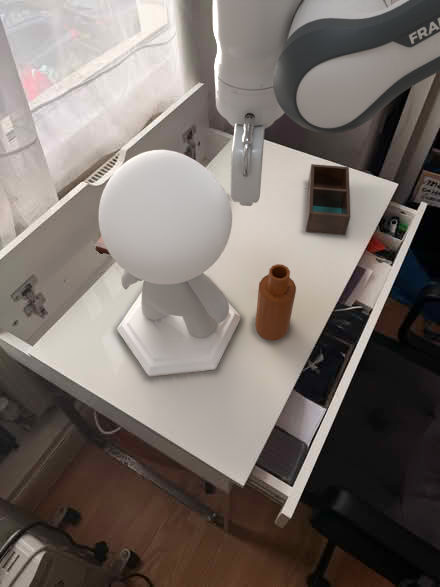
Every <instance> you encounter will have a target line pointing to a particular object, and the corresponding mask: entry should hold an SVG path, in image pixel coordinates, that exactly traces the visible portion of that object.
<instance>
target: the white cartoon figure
mask: <svg viewBox="0 0 440 587" xmlns="http://www.w3.org/2000/svg"><path fill="white" fill-rule="evenodd" d="M98 206H99V207H98V227H99V231H100V237H101V236H102V239H103V242H104V244H105V246H106V248H107V250H108V252H109V253H110V256H111V258H112V259H113V260H114V261H115V263H116V264H117V265H118V266H119V267H120V268H122V272H121V275H120V276H121V277H120V282H121V287H122V288H123V290H128V288H129V287H130V286H131V285H134V284H136V283H138V282H142V281H143V283H142V289H141V292H140V294H139V296H138V297H137V298H136V300H135V301H134V303H133V304H132V305H131V307H130V308H129V310H128V312H127V313H126V314H125V316H124V317H123V319H122V320H121V322H120V324H119V325H118V326H117V328H116V330H117V332H118V333H119V335H120V337H122V339H123V341H124V342H125V344H126V345H127V347H128V349H130V351H131V353H132V354H133V355H134V357H135V358H136V360H137V361H138V363H139V364H140V366H141V368H142V369H143V370H144V372H145V373H146V374H147V377H157V376H158V377H159V376H168V375H179V374H189V373H198V372H206V371H207V372H209V371H216V369H217V367H218V366H219V363H220V361H221V360H222V357H223V355H224V354H225V352H226V350H227V348H228V345H229V343H230V341H231V340H232V337H233V335H234V333H235V331H236V329H237V327H238V325H239V323H240V321H241V319H242V316H241V315H240V314H239V313H238V312H237V310H236V309H235V307H233V306H232V305H231V304H230V302H229V301H228V298H227V297H226V295H225V294H224V292H223V290H221V289H220V287H219V286H218V285H217V284H216V283H215V282H214V281H213V280H212V279H211V278H210V277H209V276H208V275H207V274H205V272H206V271H208V270H209V269H210V268H211V267H213V265H214V264H215V263H216V262H217V261H218V259H220V257H221V255H222V254H223V252H224V251H225V249H226V247H227V245H228V242H229V239H230V236H231V232H232V226H233V211H232V210H233V209H232V205H231V202H230V199H229V195H228V194H227V192H226V190H225V188H224V187H223V185H222V183H221V182H220V181H219V180H218V179H217V177H216V176H215V175H214V174H213V172H211V171H210V170H209V169H208V168H206V167H205V166H204V165H203V164H201V163H200V162H199V161H197V160H195V159H193V158H192V157H190V156H188V155H185V154H183V153H181V152H178V151H175V150H174V151H173V150H168V149H154V150H148V151H144V152H141V153H139V154H136V155H135V156H133V157H131V158H129V159H128V160H127V161H125V162H124V163H122V164H121V165H120V166H119V167H118V168H117V169H116V170H115V171H114V172H113V174H112V175H111V176H110V178H109V180H108V181H107V183H106V185H105V186H104V188H103V191H102V193H101V197H100V201H99V205H98Z"/></svg>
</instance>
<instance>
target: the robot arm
mask: <svg viewBox="0 0 440 587" xmlns="http://www.w3.org/2000/svg"><path fill="white" fill-rule="evenodd" d="M212 30H213V36H214V38H215V41H216V46H217V47H216V49H217V50H216V56H215V59H214V84H215V85H214V88H215V92H214V93H215V108H216V110H217V112H218V114H220V116H221V117H222V118H224V119H225V120H226V121H227V122H228V123H229V124H230V125H231V126H232V127H233V128H234V129H233V138H232V146H231V155H230V156H231V157H230V198H231V200H232V201H233V202H235V203H239V204H240V206H243V207H252V206H253V204H256V203H258V202H259V201H260V197H261V189H262V188H261V186H262V172H263V161H264V160H263V159H264V158H263V157H264V145H265V144H264V143H265V131H266V130H265V129H267V128H269V127H271V126H272V125H274V123H275V121H277V120H278V119H280V118H281V117H283V115H284V114H285V115H286V116H287V117H288V118H289V119H290V120H291V121H292V122H294V123H295V124H297V125H299V127H301V128H304V129H306V130H308V131H311V132H315V133H320V134H339V133H345V132H348V131H352V130H354V129H357V128H359V127H361V126H362V125H364V124H366V123H367V122H369V121H370V120H371V119H372V118H374V117H375V116H376V115H378V114H379V113H380V112H381V111H382V110H383V109H384V108H385V107H387V105H389V104H390V103H391V102H392V101H393V100H395V99H396V98H397V97H398V96H400V95H401V94H403V93H404V92H405V91H407V90H408V89H410V88H412V87H414V86H415V85H418V84H419V83H420V82H422V81H424V80H426V79H428V78H430V77H432V76H434V75H436V74H438V73H440V0H397V1H396V2H394V3H393V2H392V0H212Z"/></svg>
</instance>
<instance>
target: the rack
mask: <svg viewBox="0 0 440 587" xmlns="http://www.w3.org/2000/svg"><path fill="white" fill-rule="evenodd" d="M307 180H308V181H307V192H306V194H307V195H306V212H305V213H306V215H305V232H306V233H317V234H325V235H336V236H346V234H347V229H348V226H349V223H350V221H351V192H350V191H351V189H350V166H340V165H328V164H314V163H311V165H310V169H309V175H308V179H307Z"/></svg>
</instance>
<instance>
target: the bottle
mask: <svg viewBox="0 0 440 587" xmlns="http://www.w3.org/2000/svg"><path fill="white" fill-rule="evenodd" d="M258 283H259V284H258V290H257V302H256V312H255V313H256V314H255V324H254V325H255V330H256V333H257V334H258V336H260V337H261V338H263V339H265V340H268V341H277V340H281V339H282V338H284V337H285V336H286V335H287V333H288V330H289V327H290V322H291V317H292V312H293V308H294V303H295V298H296V293H297V286H296V283H295V281H294V280H293V279H292V278H291V271H290V269H289V267H287V265H284V264H281V263H280V264H279V263H277V264H273V265H271V267H270V268H269V269H268V274H267V275H264V277H262V278H261V279H260V281H259V282H258Z"/></svg>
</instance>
